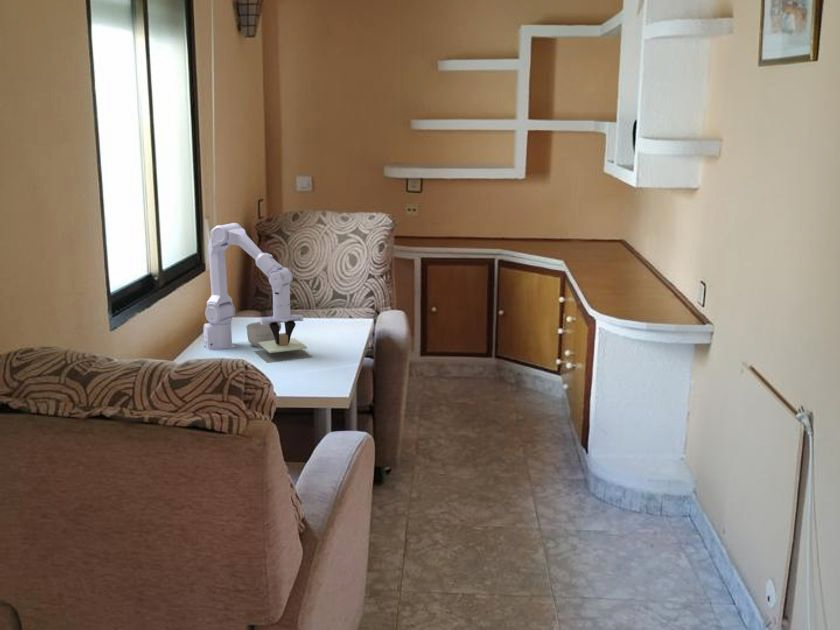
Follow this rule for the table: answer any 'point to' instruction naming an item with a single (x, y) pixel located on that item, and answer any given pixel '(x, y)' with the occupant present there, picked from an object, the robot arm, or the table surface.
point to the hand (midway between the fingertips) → (282, 343)
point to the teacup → (259, 333)
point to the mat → (282, 355)
